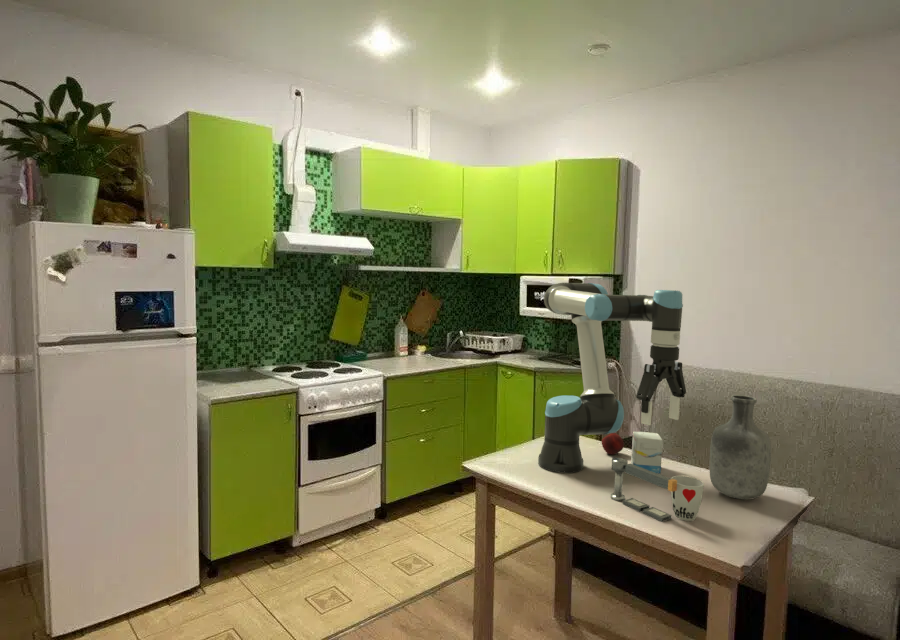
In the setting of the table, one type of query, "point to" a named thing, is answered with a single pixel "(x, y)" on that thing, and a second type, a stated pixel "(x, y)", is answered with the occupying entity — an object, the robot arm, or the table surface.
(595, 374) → the robot arm
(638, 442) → the ink box
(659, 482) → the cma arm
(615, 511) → the table surface
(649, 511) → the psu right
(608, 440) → the apple
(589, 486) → the table surface
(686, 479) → the cup
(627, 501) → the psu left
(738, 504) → the table surface
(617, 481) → the post
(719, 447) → the vase
